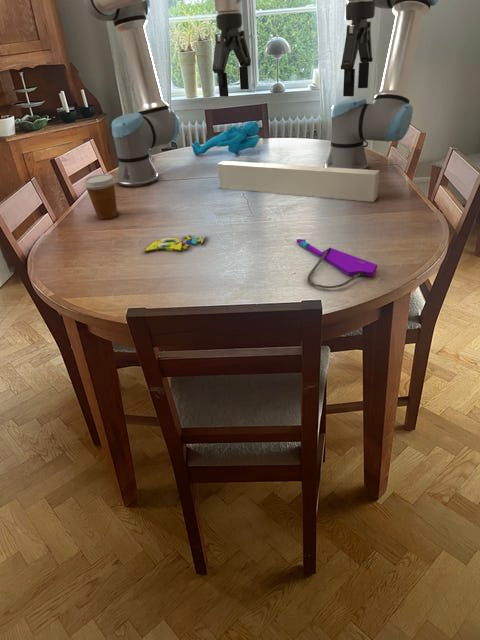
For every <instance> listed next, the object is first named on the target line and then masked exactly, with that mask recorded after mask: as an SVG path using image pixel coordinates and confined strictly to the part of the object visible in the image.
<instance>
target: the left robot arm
mask: <svg viewBox="0 0 480 640" xmlns="http://www.w3.org/2000/svg"><path fill="white" fill-rule="evenodd" d="M82 2H83V4H84V7H85V9H86V10H87V12H88V14H89V15H90V16H92V17H93V18H94V19H96V20H99V21H103V22H113V26H114V29H115V30H116V31H118V32H119V33H120V35H121V39H122V44H123V46H124V50H125V54H126V57H127V60H128V64H129V67H130V68H129V69H130V72H131V75H132V79H133V83H134V87H135V89H136V93H137V98H138V101H139V105H140V106H139V108H138V110H137V112H131V113H128V114H127V113H126V114H122V115H121V116H117V117H115V118H114V119H113V120H112V122H111V135H112V138H113V141H114V146H115V151H116V156H117V160H118V167H117V168H118V170H117V183H118V186H120V187H123V188H124V187H125V188H136V187H137V188H138V187H145V186H147V185H148V186H149V185H151V184H154V183H156V182H157V181H158V180H159V176H158V172H157V169H156V168H155V166H154V163H153V161H152V160H153V155H151V154H150V152H152V150H151V149H154V148H157V147H160V146H163V145H168V144H169V143H172V142H174V141H175V140H177V138H178V136H179V134H180V128H181V126H180V120H179V117H178V115H177V114H176V112H175V111H174V110H173V109H170V106H169V103H167V102H166V101H164V99H163V95H162V91H161V87H160V83H159V79H158V76H157V71H156V68H155V64H154V60H153V56H152V55H153V54H152V52H151V47H150V43H149V39H148V36H147V32H146V29H145V28H146V25H147V23H148V18H147V17H148V15H149V14H150V7H151V1H150V0H83V1H82ZM241 4H242V0H214V8H215V9H214V11H215V13H217V15H216V16H215V20H216V21H215V22H216V29H217V30H219V31H220V33H216V34H215V35H214V38H215V43H214V44H215V45H214V52H213V61H212V72H213V73H214V74H216V75H217V82H218V83H217V84H218V93H219V97H220V98H228V97H229V86H228V83H229V82H228V73H227V72H226V68H227V65H228V61H229V57H230V53H231V52H232V51H233V53H234V55H235V57H236V59H237V61H238V63H239V65H240V66H239V67H238V72H239V73H238V75H239V86H240V87H239V88H240V90H250V85H249V82H250V81H249V67H251V65H252V60H251V59H252V58H251V55H250V51H249V48H248V44H247V41H246V34H245V30H239V29H241V28H243V14H242V13H241V12H240V11H241V10H242V5H241Z"/></svg>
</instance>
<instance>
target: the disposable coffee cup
mask: <svg viewBox="0 0 480 640" xmlns="http://www.w3.org/2000/svg"><path fill="white" fill-rule="evenodd" d="M115 184H116V179H115V178H114V176H113V174H110V173H109V174H107V173H100V174H94V175H91V176H90V175H89V176H88V177H86V178H85V179H84V183H83V186H84V187H85V189H86V191H87V194H88V196H89V199H90V200H91V204H92V206H93V209H94V212H95V214H96V217H97V218H98V219H99V220H100V219H101V220H106V219H112V218H115V217H116V216H118V208H117V197H116V187H115Z"/></svg>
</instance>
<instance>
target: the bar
mask: <svg viewBox="0 0 480 640" xmlns="http://www.w3.org/2000/svg"><path fill="white" fill-rule="evenodd" d="M217 170H218V172H217V173H218V181H219V188H220V189H224V190H235V191H237V190H238V191H248V192H249V191H250V192H259V193H270V194H281V195H293V196H303V197H315V198H325V199H335V200H345V201H346V200H348V201H357V202H368V203H369V202H370V203H374V202H375V201H376V200H377V198H378V193H379V181H380V170H379V169H366V170H365V169H349V168H332V167H325V166H316V165H297V164H283V163H269V162H267V163H266V162H265V163H264V162H250V161H233V160H223V161H221V162H219V163H217Z"/></svg>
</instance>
